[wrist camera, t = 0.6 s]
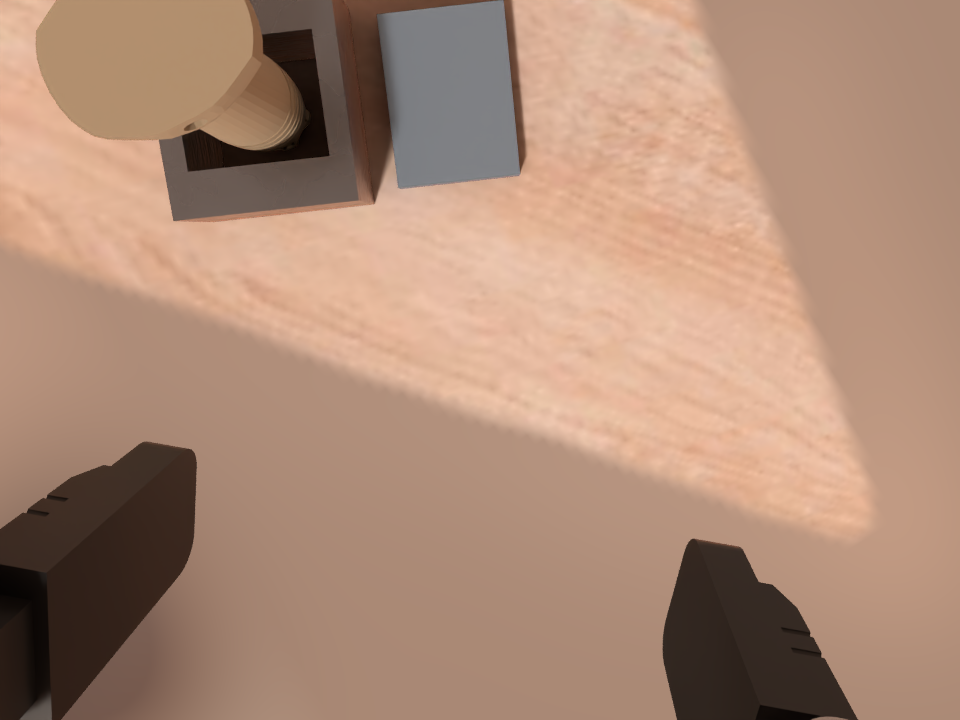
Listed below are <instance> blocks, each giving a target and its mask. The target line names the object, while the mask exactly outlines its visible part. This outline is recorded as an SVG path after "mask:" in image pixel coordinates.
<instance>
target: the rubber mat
mask: <svg viewBox="0 0 960 720" xmlns="http://www.w3.org/2000/svg"><path fill="white" fill-rule="evenodd" d="M377 21H378V29H379V37H380V45H381V53H382V61H383V69H384V77H385V85H386V93H387V101H388V109H389V117H390V125H391V133H392V141H393V149H394V157H395V165H396V173H397V181H398V188H400V189H405V188H414V187H423V186H432V185H441V184H450V183H459V182H468V181H477V180H486V179H495V178H504V177H513V176H519V175H520V167H519V156H518V146H517V135H516V125H515V114H514V104H513V93H512V83H511V73H510V62H509V52H508V41H507V31H506V20H505V10H504V0H498V1H489V2H480V3H471V4H463V5H454V6H445V7H436V8H428V9H419V10H410V11H401V12H393V13H384V14H377Z"/></svg>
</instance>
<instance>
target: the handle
mask: <svg viewBox="0 0 960 720" xmlns="http://www.w3.org/2000/svg"><path fill="white" fill-rule="evenodd" d="M36 53H37V60H38V64H39V67H40V71H41V74H42V77H43V79H44V81H45V83H46V85H47V88H48V90H49V92H50V94H51V95H52V97H53V98H54V100H55V101H56V103H57V104H58V106H59V108H60V109H61V110H62V111H63V112H64V113H65V114H66V116H67V117H68V118H69V119H70V120H71V121H72V122H73V123H75V124H76V125H77V126H78V127H80V128H81V129H82V130H84V131H86V132H88V133H89V134H91V135H93V136H95V137H99V138H104V139H111V140H161V139H172V138H175V137H178V136H181V135H184V134H187V133H190V132H193V131H195V130H198V129H201V130H203V131H204V132H206V133H208V134H210V135H212V136H213V137H215V138H217V139H219V140H221V141H223V142H225V143H227V144H230V145H233V146H236V147H240V148H244V149H248V150H256V151H273V150H278V149H281V150H284V151H286V150H290V149H293V148H295V147H296V146H297V145H298V144H299V142H298V140H299V137H300V135H301V133H302V131H303V130H304V129H305V127H306V126H308V125H309V124H310V123H311V115H310V112H309V111H308V110H307V109H306V108H305V105H304V101H303V98H302V96H301V93H300V91H299V89H298V88H297V86H296V84H295V83H294V82H293V80H292V79H291V78H290V77H289V75H288V74H287V73H286V72H285V71H284V70H283V69H282V68H281V67H280V66H279V65H278V64H276V63H275V62H274V61H273V60H272V59H270V58H269V57H267V56H266V55H264V54H263V38H262V34H261V29H260V25H259V21H258V19H257V16H256V14H255V11H254V9H253V6H252V4H251V3H250V1H249V0H56V2H55V3H54V5H53V6H52V8H51V9H50V11H49V12H48V14H47V15H46V17H45V18H44V20H43V21H42V23H41V24H40V26H39V27H38V29H37V31H36Z"/></svg>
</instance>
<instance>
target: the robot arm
mask: <svg viewBox="0 0 960 720" xmlns="http://www.w3.org/2000/svg"><path fill="white" fill-rule="evenodd" d="M196 469H197V462H196V456H195V453H194V452H193V451H192V450H191V449H186V448H180V447H175V446H169V445H163V444H158V443H152V442H142V443H141V444H139V445H138V446H136V447H135V448H134V449H133V450H131V451H130V452H129V453H128V454H126V455H125V456H124V457H123V458H121V459H120V460H119V461H117V462H116V463H114V464H113V465H112V466H106V465H103V466H100V467H98V468H95V469H92V470H90V471H87V472H84V473H82V474H79V475H76V476H74V477H71V478H70V479H68V480H67V481H66V482H64V483H63V484H61V485H60V486H59V487H57V488H56V489H55V490H53V491H52V492H50V493H49V494H48V495H47V498H46V499H45V498H43V499H41V500H40V501H38V502H37V503H35V504H34V505H33V506H31V507H30V508H29V509H28V511H27V513H22V514H20V515H19V516H18V517H17V518H15V519H14V520H12V521H11V522H9V523H8V524H7V525H5V526H4V527H3V528H1V529H0V720H61V719H62V718H63V716H64V715H65V714H66V713H67V712H68V710H69V709H70V708H71V707H72V705H73V704H74V703H75V702H76V701H77V699H78V698H79V697H80V696H81V695H82V693H83V692H84V691H85V690H86V688H87V687H88V686H89V685H90V684H91V682H92V681H93V680H94V679H95V677H96V676H97V675H98V674H99V673H100V671H101V670H102V669H103V668H104V667H105V665H106V664H107V663H108V662H109V660H110V659H111V658H112V657H113V656H114V654H115V653H116V652H117V651H118V649H119V648H120V647H121V646H122V644H123V643H124V642H125V641H126V639H127V638H128V637H129V636H130V635H131V634H132V632H133V631H134V630H135V629H136V628H137V626H138V625H139V624H140V623H141V621H142V620H143V619H144V618H145V616H146V615H147V614H148V613H149V612H150V610H151V609H152V608H153V607H154V606H155V604H156V603H157V602H158V601H159V599H160V598H161V597H162V596H163V594H164V593H165V592H166V591H167V590H168V588H169V587H170V586H171V585H172V584H173V582H174V581H175V580H176V579H177V578H178V576H179V575H180V574H181V572H182V571H183V569H184V567H185V565H186V563H187V561H188V558H189V555H190V552H191V549H192V544H193V539H194V524H195V496H196ZM663 659H664V666H665V670H666V674H667V679H668V683H669V687H670V691H671V695H672V700H673V704H674V708H675V713H676V717H677V720H858V719H857V717H856V715H855V714H854V712H853V710H852V708H851V706H850V704H849V703H848V701H847V699H846V697H845V695H844V693H843V691H842V690H841V688H840V686H839V684H838V682H837V680H836V679H835V677H834V675H833V673H832V671H831V669H830V668H829V666H828V664H827V662H826V660H825V659H824V658H821V651H820V649H819V647H818V646H817V644H816V642H815V640H814V638H813V637H810V631H809V629H808V627H807V625H806V624H805V621H804V620H803V618H802V616H801V614H800V612H799V611H798V609H797V608H796V606H794V605H793V604H792V603H791V602H790V601H789V600H788V599H787V598H786V597H785V596H784V595H783V594H782V593H781V592H780V591H779V590H777V589H776V588H775V587H774V586H773V585H771V584H766V583H760V582H758V580H757V578H756V576H755V574H754V572H753V569H752V568H751V565H750V563H749V561H748V559H747V558H746V555H745V553H744V551H743V550H742V549H741V548H740V547H737V546H732V545H726V544H720V543H715V542H709V541H703V540H698V539H691V540H690V541H689V543H688V544H687V547H686V549H685V552H684V555H683V559H682V563H681V566H680V570H679V574H678V577H677V581H676V585H675V588H674V592H673V596H672V599H671V603H670V607H669V610H668V614H667V618H666V622H665V627H664V634H663Z"/></svg>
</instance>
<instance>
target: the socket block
mask: <svg viewBox="0 0 960 720" xmlns="http://www.w3.org/2000/svg"><path fill="white" fill-rule="evenodd" d="M249 1H250V3H251V4H252V6H253V9H254V11H255V14H256V16H257V19H258V21H259V25H260V29H261V34H262V38H263V54H264V55H266V56H267V57H269V58H270V59H272V60H273V61H274V62H275V63H280V62H289V61H297V60H306V59H315V58H316V63H317V70H318V77H319V84H320V91H321V98H322V105H323V112H324V120H325V127H326V134H327V141H328V148H329V155H330V156H325V157H316V158H308V159H299V160H290V161H281V162H272V163H263V164H254V165H245V166H236V167H227V168H225V167H224V161H223V155H222V149H221V143H220V140H219V139H217V138H215V137H213V136H212V135H210V134H208V133H206V132H204V131H203V130H201V129H198V130H195V131H193V132H190V133H187V134H184V135H181V136H178V137H175V138H172V139H161V140H159V143H160V149H161V154H162V160H163V165H164V171H165V177H166V182H167V188H168V193H169V199H170V204H171V210H172V215H173V221H194V222H218V221H227V220H236V219H245V218H254V217H263V216H272V215H281V214H290V213H299V212H308V211H317V210H326V209H335V208H344V207H353V206H362V205H371V204H374V197H373V190H372V182H371V174H370V167H369V159H368V152H367V144H366V136H365V129H364V121H363V114H362V106H361V98H360V91H359V83H358V76H357V68H356V60H355V53H354V45H353V38H352V30H351V22H350V15H349V10H348V8H347V6H346V4H345V3H344V1H343V0H249Z"/></svg>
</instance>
